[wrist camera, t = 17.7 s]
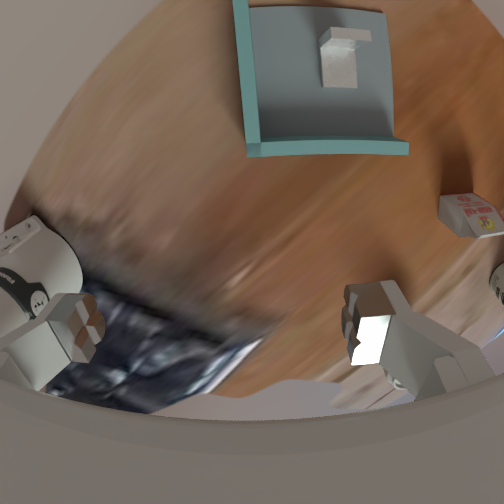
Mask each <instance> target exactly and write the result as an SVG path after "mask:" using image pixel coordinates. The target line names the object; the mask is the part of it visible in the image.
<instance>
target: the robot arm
mask: <svg viewBox="0 0 504 504" xmlns="http://www.w3.org/2000/svg"><path fill="white" fill-rule="evenodd" d="M82 281H83V278H82V271H81V267H80V264H79V261H78V259H77V257H76V255H75V254H74V252H73V250H72V249H71V247H70V246H69V245H68V244H67V243H66V242H65V240H63V239H62V238H61V237H60V236H59V235H58V234H56V233H55V232H53V231H51V230H50V229H48V228H47V227H46V226H45V225H44V224H43V223H42V221H41V220H40V219H39V218H38V217H37V216H35V215H33V216H31V217H29V218H27V219H25V220H24V221H22V222H20V223H18V224H17V225H15V226H13V227H11V228H10V229H8V230H6V231H5V232H3V233H1V234H0V504H504V373H503V374H500V375H498V376H495V374H494V372H493V370H492V369H491V367H490V365H489V364H488V362H487V360H486V358H485V356H484V355H483V353H482V351H481V350H480V348H479V347H478V346H477V345H475V344H473V343H472V342H470V341H468V340H466V339H465V338H463V337H461V336H460V335H458V334H456V333H454V332H453V331H451V330H449V329H447V328H446V327H444V326H442V325H441V324H439V323H437V322H435V321H434V320H432V319H430V318H428V317H427V316H425V315H423V314H421V313H419V312H413V310H412V308H411V307H410V305H409V303H408V302H407V300H406V298H405V297H404V295H403V293H402V292H401V290H400V288H399V287H398V285H397V284H396V282H395V281H394V280H386V281H378V282H372V283H362V284H351V285H346V286H345V290H344V299H345V302H346V305H345V306H344V307H343V308H342V317H341V318H342V331H343V335H344V338H345V339H346V340H348V347H347V350H348V353H349V357H350V361H351V364H352V365H357V364H367V363H375V362H379V364H380V365H381V366H382V367H383V368H384V369H385V370H386V371H388V372H389V373H390V374H391V375H392V376H393V377H394V378H395V379H396V380H397V381H398V382H399V383H400V384H402V385H403V386H404V387H405V388H406V389H407V390H408V391H409V392H410V393H411V394H412V395H413V396H415V397H416V398H415V400H414V402H409V403H405V404H400V405H395V406H391V407H385V408H380V409H375V410H369V411H363V412H356V413H349V414H342V415H334V416H325V417H315V418H303V419H289V420H265V421H221V420H198V419H184V418H173V417H164V416H155V415H147V414H140V413H133V412H127V411H121V410H115V409H109V408H104V407H99V406H94V405H90V404H85V403H81V402H76V401H72V400H68V399H64V398H60V397H57V396H53V395H49V394H46V393H43V392H39V390H40V389H41V388H42V387H43V386H45V385H46V384H47V383H48V382H49V381H50V380H51V379H52V378H53V377H54V376H56V375H57V374H58V373H59V372H60V371H61V370H62V369H63V368H64V367H66V366H67V365H68V364H69V363H70V361H75V362H84V363H89V362H90V360H91V358H92V356H93V355H94V353H95V351H96V346H95V344H97V343H98V342H100V341H101V340H102V338H103V336H104V331H105V323H104V319H103V317H102V314H101V313H99V312H98V311H97V310H96V306H97V303H96V301H95V299H94V297H93V296H92V295H90V294H80V293H79V292H80V290H81V287H82Z"/></svg>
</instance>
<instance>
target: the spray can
mask: <svg viewBox="0 0 504 504" xmlns="http://www.w3.org/2000/svg"><path fill="white" fill-rule="evenodd" d="M490 288H491V290H492V292H493V293H494V294H495V295H496V296H497V297H498V299H499V300H500V301H501V302H502V303H503V304H504V263H502V264H501V265H499V266H498V267H497V268H496V269H495V270H494V272H493V274H492V276H491V279H490Z"/></svg>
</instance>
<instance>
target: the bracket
mask: <svg viewBox="0 0 504 504" xmlns="http://www.w3.org/2000/svg"><path fill="white" fill-rule="evenodd" d="M371 41H372V39H371V31H370V30H362V29H352V28H340V27H330V28H329V29H328V30H327V31H326V32H325V33H324V34H323V35H322V36H321V37H320V38H319V39H318V49H319V60H320V72H321V86H322V87H323V88H353V89H355V88H358V87H357V72H356V59H355V49H357V48H359V47H361V46H363V45H365V44H367V43H369V42H371Z"/></svg>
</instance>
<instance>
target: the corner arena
mask: <svg viewBox="0 0 504 504" xmlns="http://www.w3.org/2000/svg"><path fill="white" fill-rule="evenodd" d="M233 11H234V21H235V32H236V42H237V53H238V63H239V74H240V85H241V95H242V106H243V117H244V128H245V139H246V150H247V158H249V157H263V156H280V155H303V154H390V155H408V153H409V142H406V141H404V140H401V139H398V138H395V137H394V113H393V84H392V68H391V55H390V45H389V36H388V28H387V20H386V14H383V13H377V12H370V11H362V10H354V9H344V8H332V7H312V6H275V7H256V8H249V5H248V0H233ZM330 27H340V28H352V29H362V30H370V31H371V39H372V41H371V42H369V43H367V44H365V45H363V46H361V47H359V48H357V49H355V59H356V72H357V87H358V88H355V89H353V88H323V87H322V86H321V72H320V60H319V49H318V39H319V38H320V37H321V36H322V35H323V34H324V33H325V32H326V31H327V30H328V29H329V28H330Z"/></svg>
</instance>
